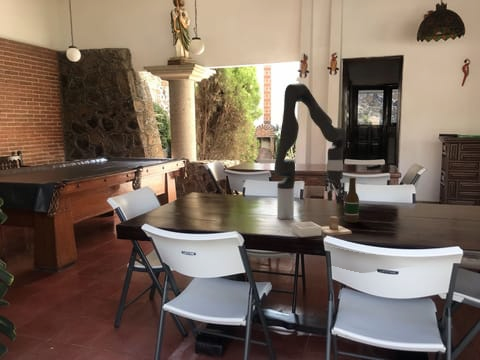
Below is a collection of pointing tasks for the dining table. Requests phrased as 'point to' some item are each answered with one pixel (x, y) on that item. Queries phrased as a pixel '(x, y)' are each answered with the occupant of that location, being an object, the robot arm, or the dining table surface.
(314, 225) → the beige square tray
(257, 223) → the dining table surface
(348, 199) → the beer bottle
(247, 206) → the dining table surface
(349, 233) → the mat
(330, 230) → the lid
